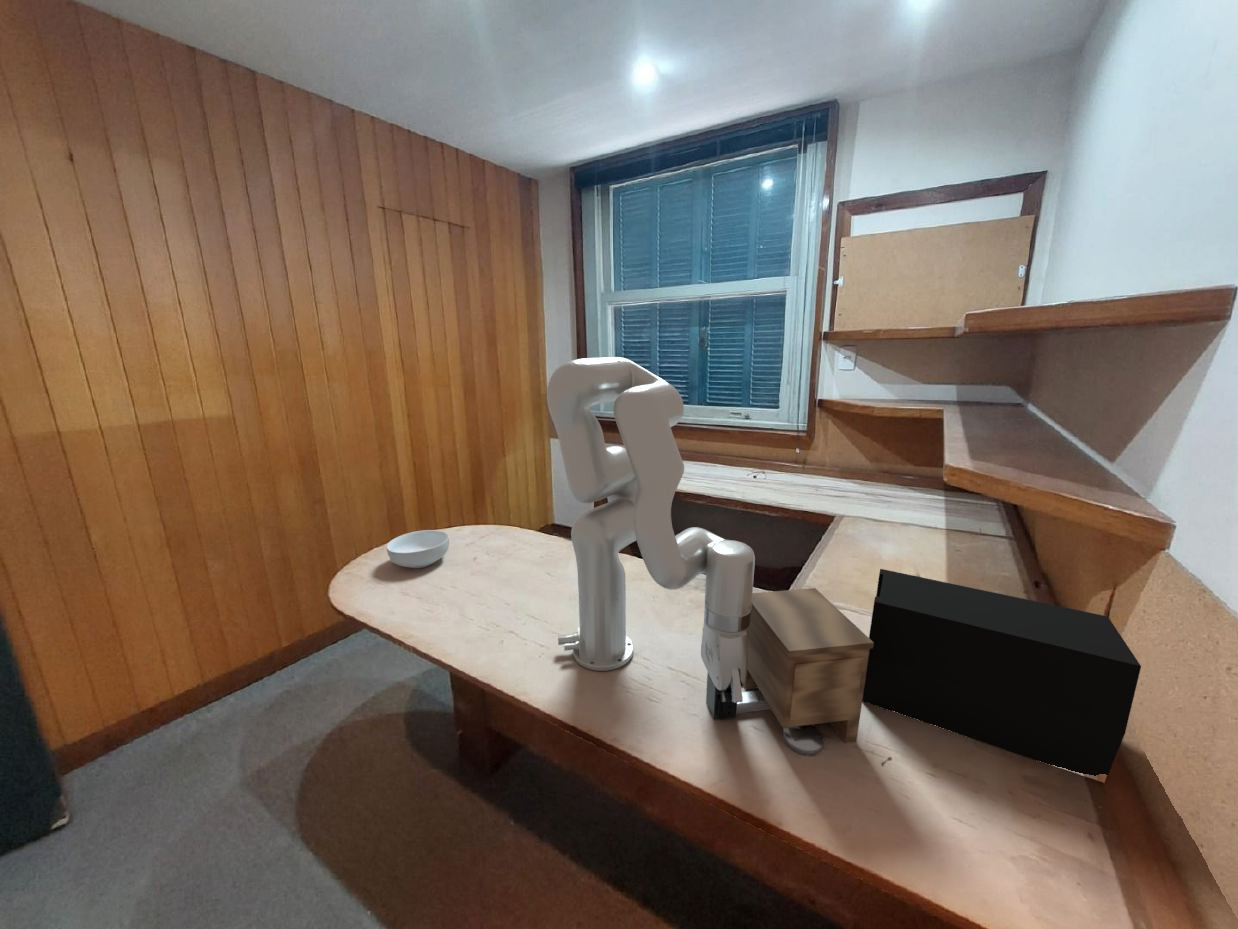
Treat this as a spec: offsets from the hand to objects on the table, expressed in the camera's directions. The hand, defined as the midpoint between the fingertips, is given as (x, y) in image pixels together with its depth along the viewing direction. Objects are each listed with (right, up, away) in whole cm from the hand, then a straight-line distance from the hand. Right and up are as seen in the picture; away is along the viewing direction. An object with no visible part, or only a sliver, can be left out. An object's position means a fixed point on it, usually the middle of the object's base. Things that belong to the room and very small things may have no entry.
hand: (721, 706), depth 84 cm
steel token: (+12, -2, -6) cm, 14 cm away
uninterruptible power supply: (+43, -1, -1) cm, 43 cm away
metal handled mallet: (+6, -1, +1) cm, 6 cm away
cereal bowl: (-77, +13, +58) cm, 97 cm away
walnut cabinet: (+13, -1, 0) cm, 13 cm away
